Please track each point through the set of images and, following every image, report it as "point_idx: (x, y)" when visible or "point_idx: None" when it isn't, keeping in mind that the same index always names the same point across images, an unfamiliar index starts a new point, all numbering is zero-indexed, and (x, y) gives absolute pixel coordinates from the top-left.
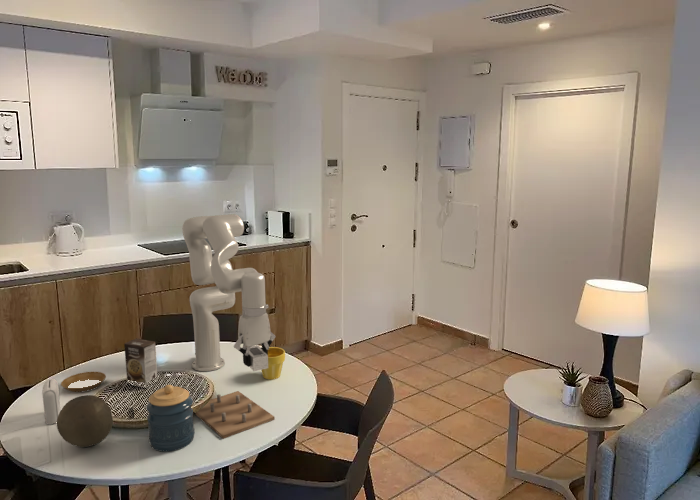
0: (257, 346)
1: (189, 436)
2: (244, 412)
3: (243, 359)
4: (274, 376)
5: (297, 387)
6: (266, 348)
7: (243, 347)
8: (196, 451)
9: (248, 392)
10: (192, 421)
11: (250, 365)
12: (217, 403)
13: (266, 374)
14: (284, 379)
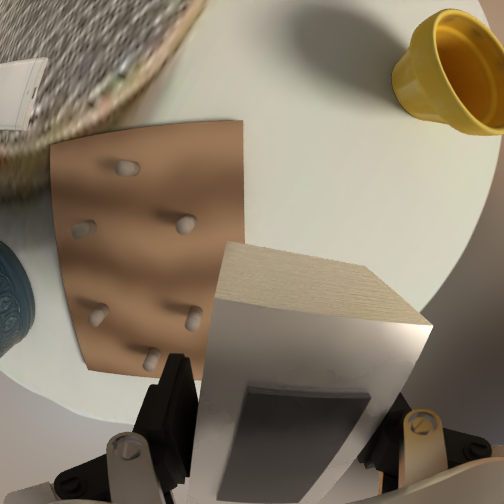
0: (400, 361)
1: (18, 342)
2: (177, 305)
3: (145, 406)
4: (421, 118)
5: (433, 233)
6: (382, 473)
7: (121, 499)
8: (40, 362)
9: (282, 140)
10: (7, 345)
11: (197, 412)
12: (124, 177)
13: (404, 94)
14: (438, 147)
